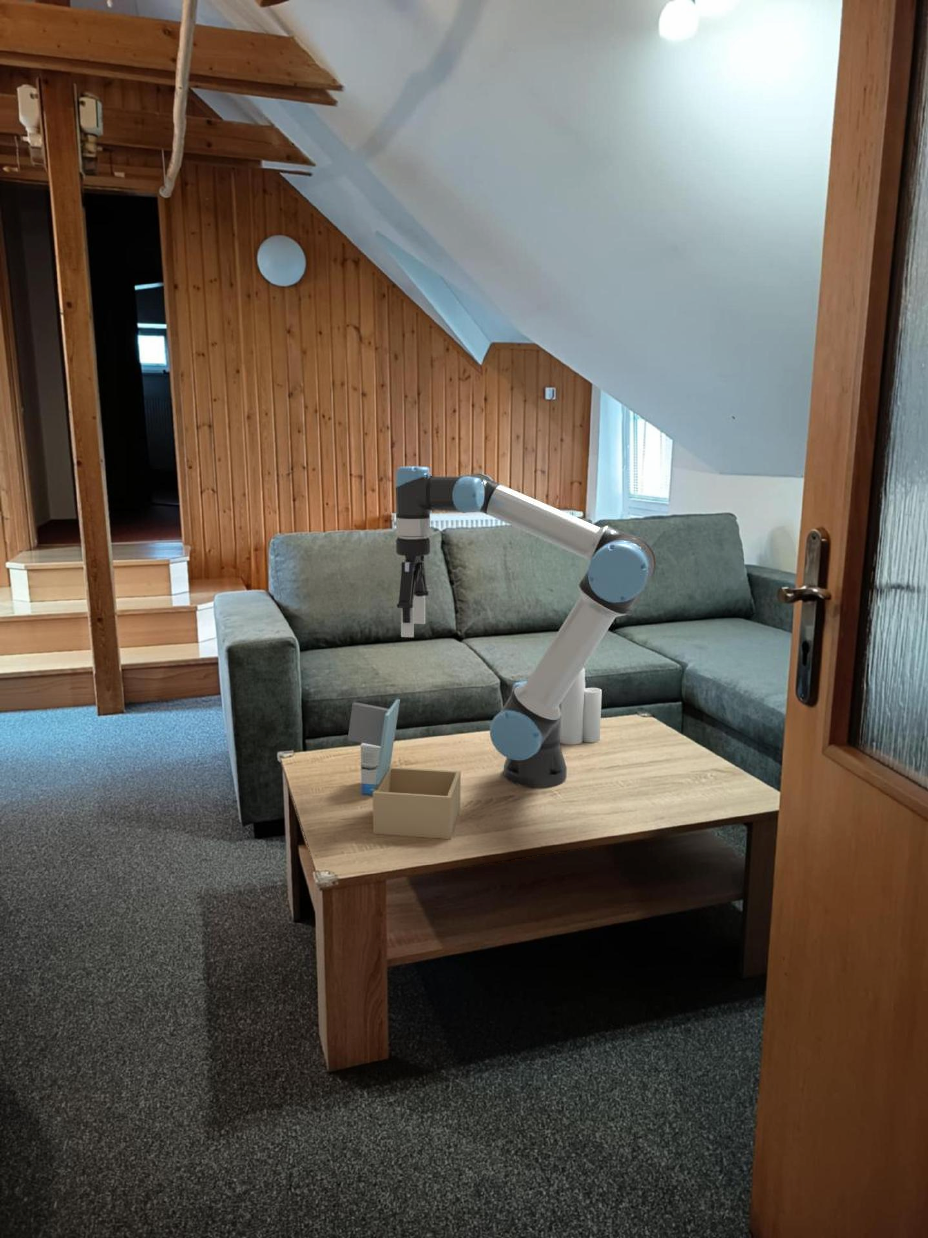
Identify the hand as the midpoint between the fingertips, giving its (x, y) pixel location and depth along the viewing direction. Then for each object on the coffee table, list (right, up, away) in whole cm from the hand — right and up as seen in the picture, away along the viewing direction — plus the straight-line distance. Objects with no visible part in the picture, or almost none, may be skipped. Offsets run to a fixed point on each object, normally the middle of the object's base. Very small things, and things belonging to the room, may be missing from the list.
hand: (413, 630), depth 194 cm
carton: (+2, -40, -13) cm, 43 cm away
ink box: (-9, -37, +4) cm, 38 cm away
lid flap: (-4, -24, -16) cm, 29 cm away
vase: (+42, -30, +37) cm, 63 cm away
